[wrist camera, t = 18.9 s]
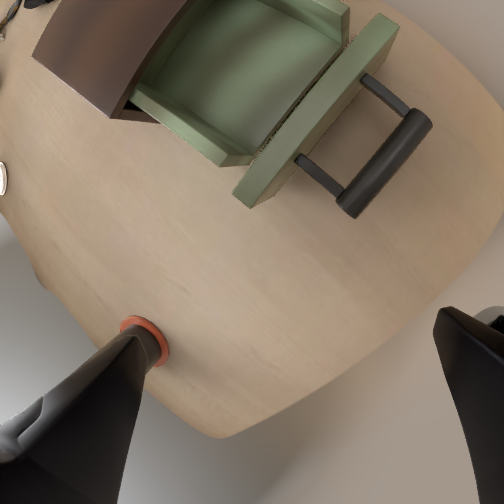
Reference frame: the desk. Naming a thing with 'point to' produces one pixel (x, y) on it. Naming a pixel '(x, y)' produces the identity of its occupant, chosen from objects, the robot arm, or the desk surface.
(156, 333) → the coaster
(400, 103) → the drawer
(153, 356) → the pepper mill
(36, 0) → the tape measure
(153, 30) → the cabinet
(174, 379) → the desk surface
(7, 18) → the figurine
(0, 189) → the chess piece
